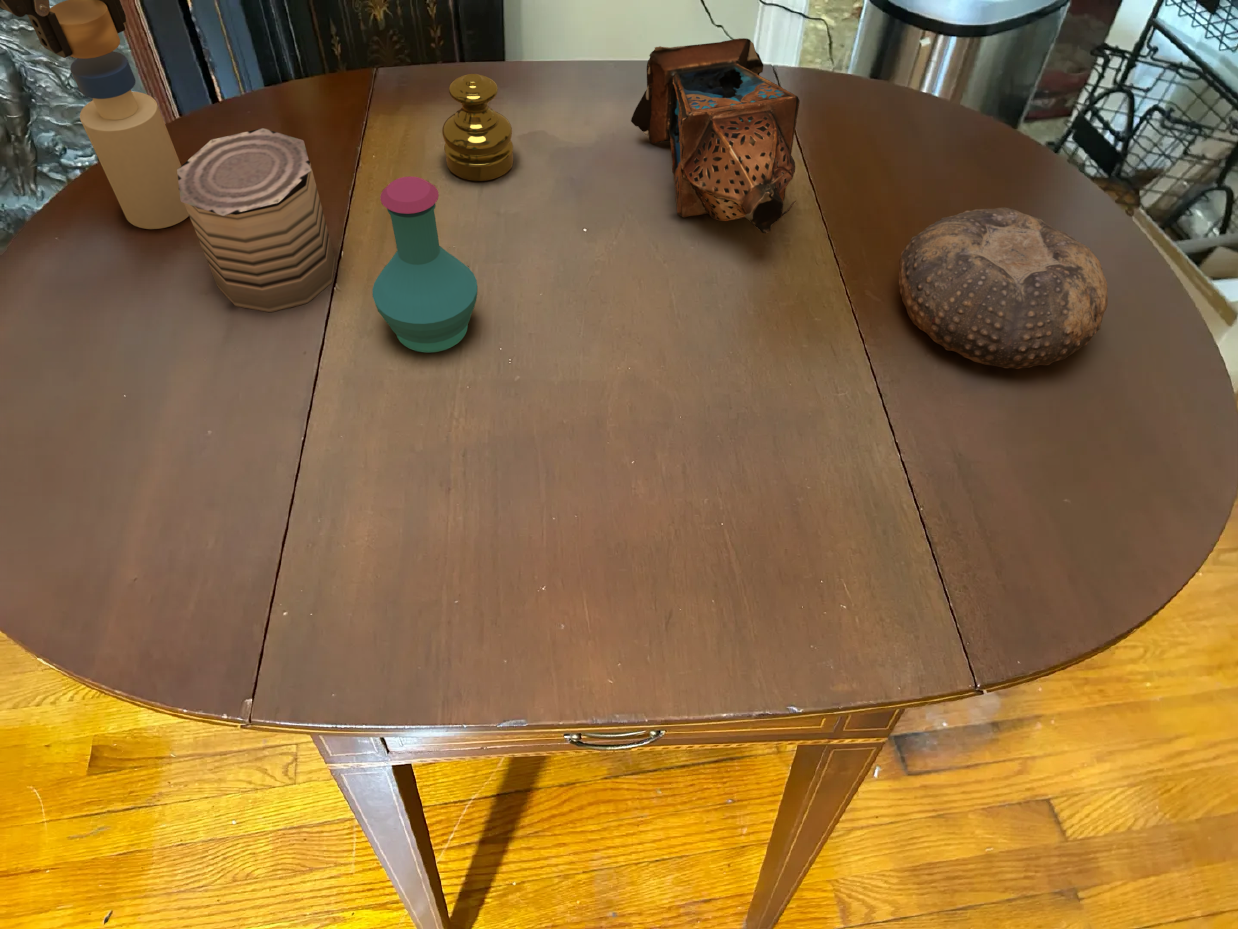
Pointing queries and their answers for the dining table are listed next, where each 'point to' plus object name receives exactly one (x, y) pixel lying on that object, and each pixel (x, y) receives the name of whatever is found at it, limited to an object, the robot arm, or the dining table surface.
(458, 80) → the brass weight
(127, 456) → the dining table surface
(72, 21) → the tan short cylinder
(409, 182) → the perfume bottle
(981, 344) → the sea urchin shell
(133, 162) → the cream bottle
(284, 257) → the can
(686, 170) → the lantern
